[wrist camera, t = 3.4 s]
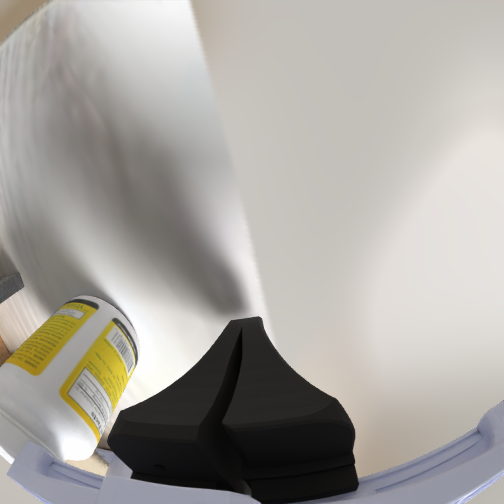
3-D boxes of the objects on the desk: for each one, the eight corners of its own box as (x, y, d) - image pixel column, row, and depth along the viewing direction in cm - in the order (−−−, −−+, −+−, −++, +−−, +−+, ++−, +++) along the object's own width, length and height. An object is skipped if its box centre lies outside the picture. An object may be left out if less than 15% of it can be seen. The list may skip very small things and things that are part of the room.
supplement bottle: (58, 331, 14) (-26, 431, 4) (79, 273, 12) (-51, 386, 3) (124, 382, 14) (65, 504, 5) (158, 335, 13) (81, 500, 4)
